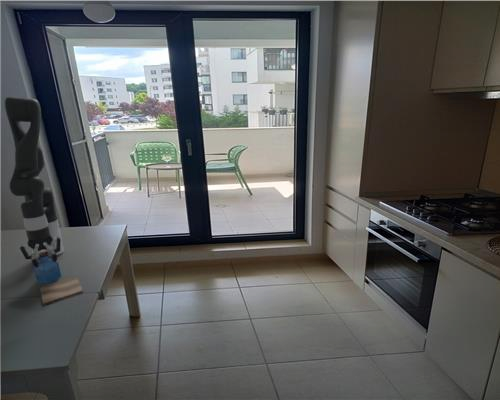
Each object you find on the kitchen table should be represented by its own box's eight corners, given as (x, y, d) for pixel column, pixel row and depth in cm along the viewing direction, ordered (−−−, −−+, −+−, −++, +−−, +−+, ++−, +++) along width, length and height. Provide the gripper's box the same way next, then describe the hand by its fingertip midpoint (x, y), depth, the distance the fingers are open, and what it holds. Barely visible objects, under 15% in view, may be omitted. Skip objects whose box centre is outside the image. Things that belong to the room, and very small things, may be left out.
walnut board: (40, 289, 118) (40, 287, 117) (77, 278, 125) (77, 276, 125) (43, 305, 108) (42, 303, 107) (83, 292, 115) (82, 290, 115)
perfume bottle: (61, 276, 127) (55, 251, 123) (47, 284, 121) (41, 257, 118) (50, 273, 129) (44, 248, 125) (36, 281, 123) (30, 255, 120)
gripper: (56, 219, 125) (64, 255, 130) (14, 227, 117) (24, 266, 121) (59, 224, 119) (66, 262, 124) (14, 233, 111) (24, 273, 116)
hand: (45, 263), depth 123 cm, fingers closed on perfume bottle, 5 cm apart
